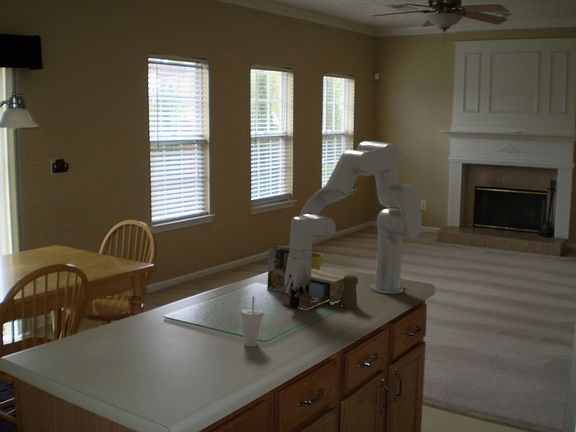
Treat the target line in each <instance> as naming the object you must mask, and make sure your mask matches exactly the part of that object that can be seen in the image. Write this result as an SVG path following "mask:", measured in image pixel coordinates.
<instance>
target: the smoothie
mask: <svg viewBox="0 0 576 432" xmlns="http://www.w3.org/2000/svg"><path fill="white" fill-rule="evenodd" d="M251 298H252V299H251V301H252V302H251V307H245V308H242V309H241V310H240V315H241V320H242V321H241V322H242V333H243V334H242V336H243V345H244V346H245V347H256V346H257V345H258V342H259V338H260V337H259V335H260V332H261V325H262V320H263V316H264V311H263V310H262V309H261V308H257V307H255V296H252V297H251Z"/></svg>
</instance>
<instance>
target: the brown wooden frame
mask: <svg viewBox="0 0 576 432" xmlns="http://www.w3.org/2000/svg"><path fill="white" fill-rule="evenodd" d="M298 297H299V306H298V307H299V308H303V309H308V308H310V307H312V306H315V305H317V304H319V303H322V302H324V301H326V300H328V299H329V298H330V294H329V295H327V296H324V297H321V298H319V299H316V300H313V299H312V296H310V295H309V290H308V291H306V294H301V293H298ZM282 300H283V303H282V305H283V306H286V305H288V306H287V307H290V295H289V292H288V291H286V292H283V299H282Z"/></svg>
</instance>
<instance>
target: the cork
mask: <svg viewBox="0 0 576 432" xmlns="http://www.w3.org/2000/svg"><path fill="white" fill-rule="evenodd" d="M343 283H344V288H343V293H342V297H341V302H340V303H341V305H342V307H341V308H343V309H347V310H354V309H357V308H358V299H357V298H358V296H357V294H358V293H357V285H358V283H359V279H358V276H357V275H353V274H346V275H345V276H344V278H343ZM340 303H339V304H340Z"/></svg>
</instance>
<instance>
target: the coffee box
mask: <svg viewBox="0 0 576 432" xmlns="http://www.w3.org/2000/svg"><path fill="white" fill-rule="evenodd" d="M289 250H290V246H288V245H287V246H286V245H277V244H276V245H275V244H273V245H272V246H270V247H269V248H268V264H267V269H268V270H267V286H266V290H267V291H271V292H280V293H284V292H286V291H287V290H286V288H287V286H285V273H286V266H287V261H288V258H289ZM293 286H294V285H293ZM293 290H295V289H293Z"/></svg>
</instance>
